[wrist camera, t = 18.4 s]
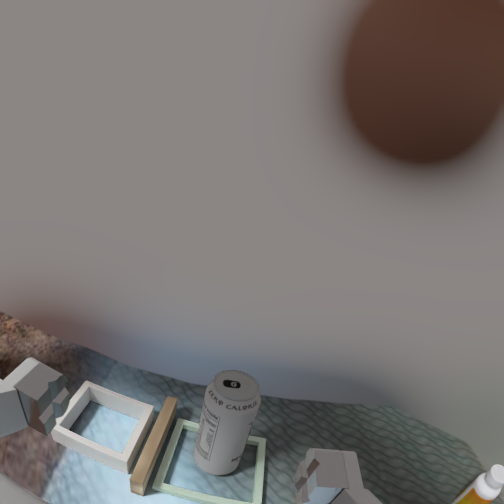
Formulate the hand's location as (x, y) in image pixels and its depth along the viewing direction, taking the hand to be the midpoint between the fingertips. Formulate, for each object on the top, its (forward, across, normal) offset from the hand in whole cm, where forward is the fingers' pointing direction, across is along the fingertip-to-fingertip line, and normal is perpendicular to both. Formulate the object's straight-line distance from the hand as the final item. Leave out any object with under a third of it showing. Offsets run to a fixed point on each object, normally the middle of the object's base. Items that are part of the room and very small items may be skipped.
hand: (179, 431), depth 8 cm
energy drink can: (+19, -3, +29) cm, 35 cm away
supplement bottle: (+10, -41, +28) cm, 51 cm away
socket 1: (+18, +13, +29) cm, 37 cm away
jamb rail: (+18, +5, +29) cm, 35 cm away
